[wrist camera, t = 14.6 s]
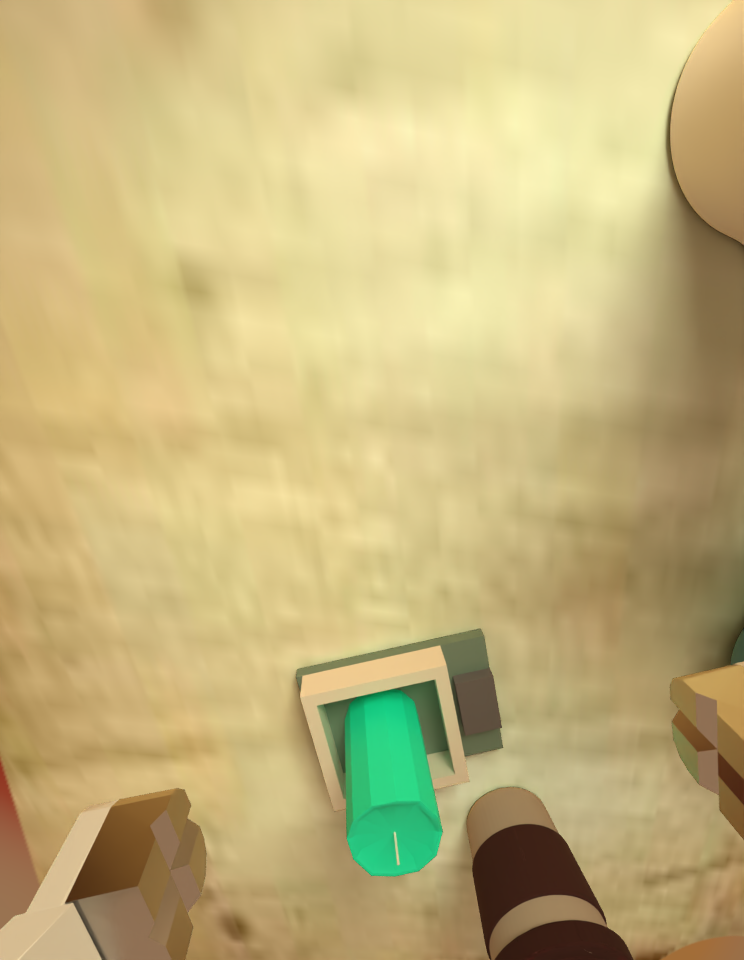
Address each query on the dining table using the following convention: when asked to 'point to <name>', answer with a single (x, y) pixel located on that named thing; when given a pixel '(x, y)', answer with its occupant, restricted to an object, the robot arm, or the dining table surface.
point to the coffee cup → (533, 885)
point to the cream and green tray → (428, 682)
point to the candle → (389, 786)
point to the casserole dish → (738, 650)
